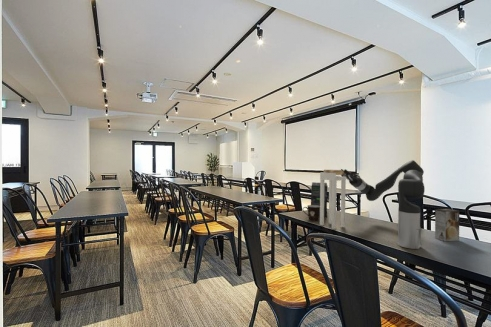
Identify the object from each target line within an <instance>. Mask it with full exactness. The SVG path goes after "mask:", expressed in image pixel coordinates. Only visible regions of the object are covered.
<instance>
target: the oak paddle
mask: <svg viewBox="0 0 491 327" xmlns="http://www.w3.org/2000/svg"><path fill="white" fill-rule="evenodd" d="M347 171H348V172H351V173H352V171H351V170H347ZM323 172H324V173H336V176H341V175H342V174H345V173H344V171H342V170H341V169H323Z"/></svg>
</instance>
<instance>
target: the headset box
mask: <svg viewBox="0 0 491 327" xmlns="http://www.w3.org/2000/svg"><path fill="white" fill-rule="evenodd" d="M328 188H329V185H328V183H327V182H324V217H326V218H328V215H327V214H328ZM310 205H318V206H320V182H316V181H315V182H314V181H313V182H311V187H310ZM319 218H320V211H319Z"/></svg>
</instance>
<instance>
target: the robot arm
mask: <svg viewBox="0 0 491 327" xmlns="http://www.w3.org/2000/svg"><path fill="white" fill-rule="evenodd" d="M340 170H342V171H344V173H345V174H342V175H340V177H346V181H348V183H349V184H350V186H352V187H353V188H355V189H356V190H357V191H359V192H360V193H362V194H365V198H366V200H368V201H369V202H373V201H376V200H378V199H379V198H380V196H381V195H383V194H384V193H385V192H388V190H390V189H392V188H393V187H394V185H395V184H396V181H397V179H398V177H399V176H400V174H402V173H404V174H403V176H402V179H399V180H398V184H397V187H398V188H397V191H398V213H397V214H398V215H397V218H398V220H397V245H398V246H399V247H402V248H405V249H406V248H407V249H411V250H419V249H420V248H421V247H422V245H421V244H422V227H421V207H420V206H419V205H416V204H414V203H411V202H410V201H408V200H407V199H421V198H423V197H424V195H425V184H424V179H423V178H424V176H423V175H424V172H425V170H424V169H423V167H422V166H420V165H419V164H418V162H416V161H415V160H414V159H411V160H409V161H407V162H406V163H405V162H404V164H402V165H401V166H400V167H398V168H397V169H396V170H394V171H393V172H391V174H389V175H388V176H387V177H386V178H384V179H382V180H381V181H378V183H375V186H373V185H370V184H368V183H367V182H366V181H365V180H364V179H363V178H361V176H360V175H358V174H357V173H354V172H353V171H351V172H348V171H349V170H348V169H342V168H340Z"/></svg>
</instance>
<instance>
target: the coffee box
mask: <svg viewBox="0 0 491 327" xmlns="http://www.w3.org/2000/svg"><path fill="white" fill-rule="evenodd" d="M434 212H435V213H434V214H435V215H434V223H435V224H434V238H435V239H436V240H439V241H443V240H444V241H443V242H453V241H460V210H457V209H450V208H439V209H438V208H436V209H434Z"/></svg>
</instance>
